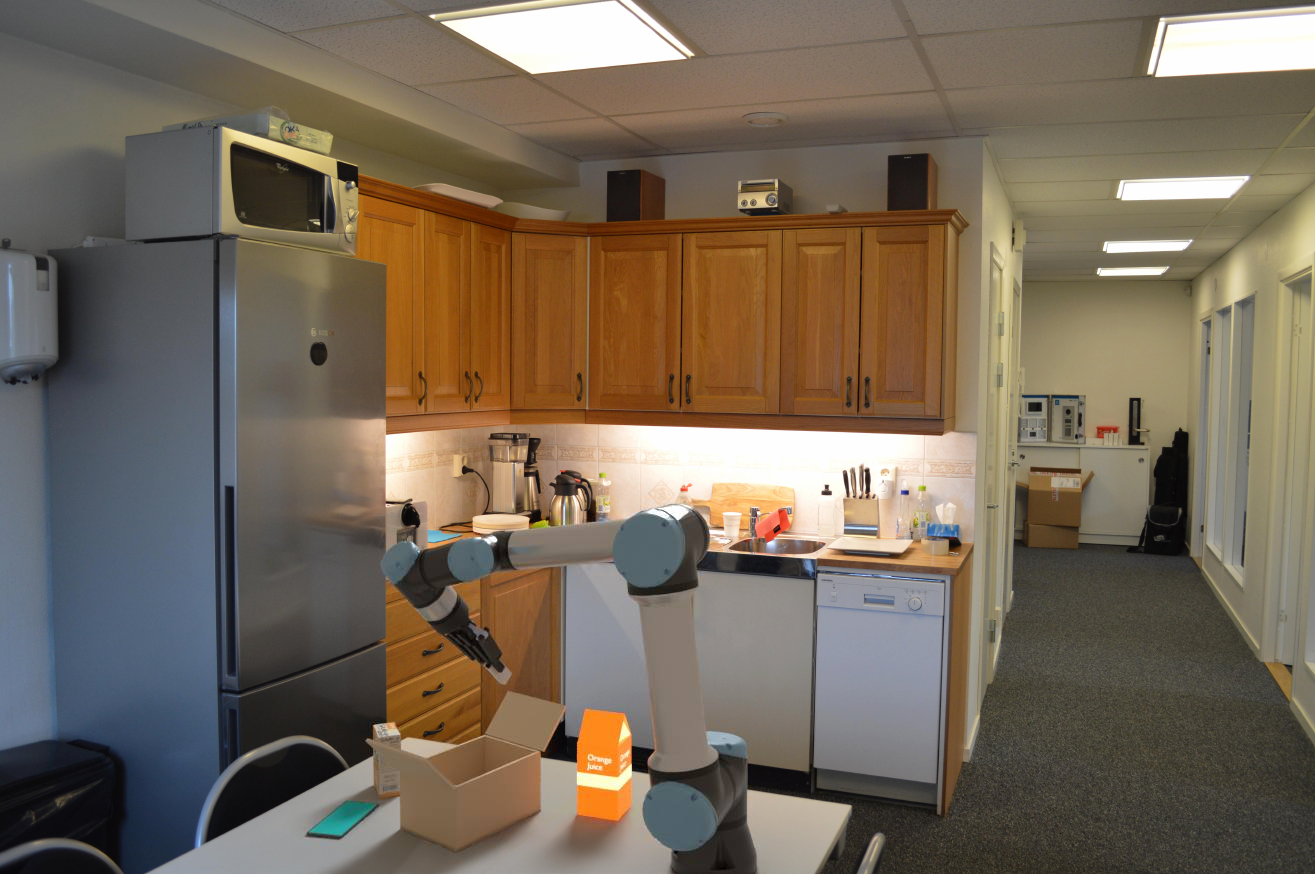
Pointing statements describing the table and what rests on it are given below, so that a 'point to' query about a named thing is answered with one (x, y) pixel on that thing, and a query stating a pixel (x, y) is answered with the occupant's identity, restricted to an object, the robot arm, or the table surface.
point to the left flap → (411, 763)
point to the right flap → (526, 720)
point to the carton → (472, 793)
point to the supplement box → (383, 770)
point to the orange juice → (604, 765)
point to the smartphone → (343, 819)
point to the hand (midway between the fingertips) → (506, 678)
